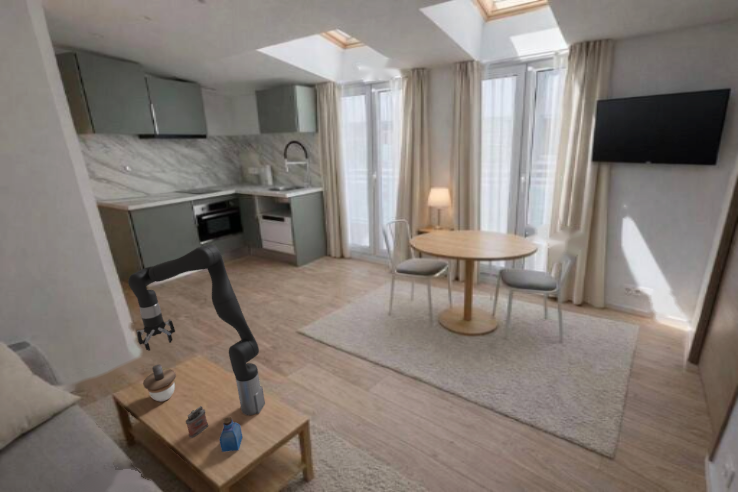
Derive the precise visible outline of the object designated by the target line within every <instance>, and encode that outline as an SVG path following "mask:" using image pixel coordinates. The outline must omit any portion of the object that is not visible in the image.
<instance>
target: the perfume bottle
mask: <svg viewBox="0 0 738 492" xmlns="http://www.w3.org/2000/svg"><path fill="white" fill-rule="evenodd" d="M222 422H223V428H222V431H221V433H220V436H219V438H218V440H219V445H220V449H221V452H222V453H224V452H225V453H227V452H236V451H239V450H240V447H241V444H242V440H243V432H242V427H241V424H239V423H237V422H235V421H233V417H232V416H227V417H225V418H224V419H223V420H222Z"/></svg>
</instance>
